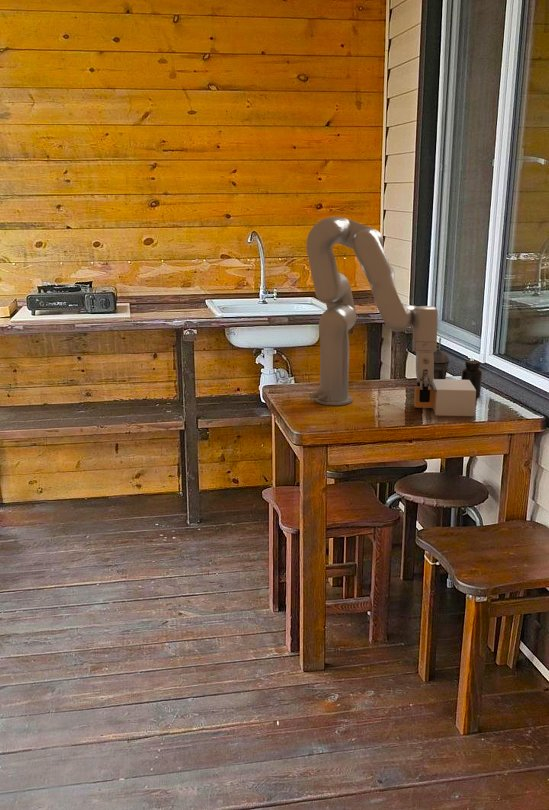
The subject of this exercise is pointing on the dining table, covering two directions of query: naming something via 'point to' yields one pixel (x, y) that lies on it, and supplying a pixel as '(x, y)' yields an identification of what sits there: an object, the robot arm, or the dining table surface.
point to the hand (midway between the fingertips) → (423, 397)
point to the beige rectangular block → (454, 397)
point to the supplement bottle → (473, 375)
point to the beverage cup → (440, 363)
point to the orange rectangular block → (424, 404)
